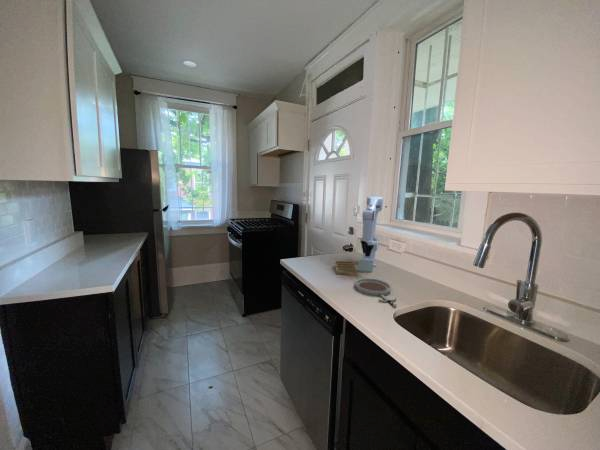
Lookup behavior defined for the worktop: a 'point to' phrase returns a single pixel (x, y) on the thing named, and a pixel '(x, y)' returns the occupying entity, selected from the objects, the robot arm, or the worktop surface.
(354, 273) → the rack
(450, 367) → the worktop surface
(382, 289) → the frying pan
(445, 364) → the worktop surface
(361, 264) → the upright pale blue slab
